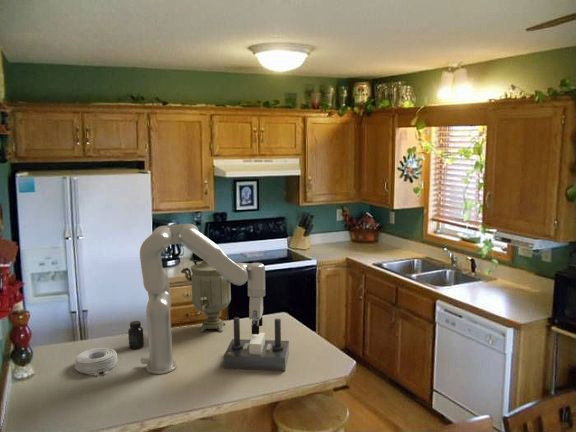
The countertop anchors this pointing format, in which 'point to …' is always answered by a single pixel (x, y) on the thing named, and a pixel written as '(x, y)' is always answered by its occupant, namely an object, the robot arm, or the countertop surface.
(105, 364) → the cable
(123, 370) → the countertop surface
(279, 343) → the black toggle lever
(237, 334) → the dark grey upright post
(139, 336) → the supplement bottle
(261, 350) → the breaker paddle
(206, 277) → the samovar
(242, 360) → the gray switch control box
